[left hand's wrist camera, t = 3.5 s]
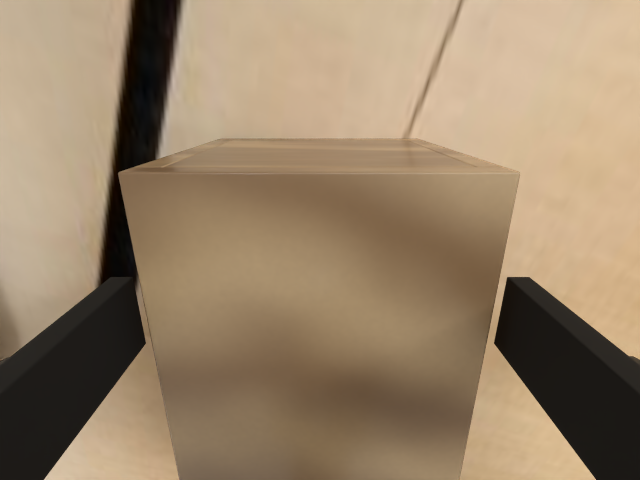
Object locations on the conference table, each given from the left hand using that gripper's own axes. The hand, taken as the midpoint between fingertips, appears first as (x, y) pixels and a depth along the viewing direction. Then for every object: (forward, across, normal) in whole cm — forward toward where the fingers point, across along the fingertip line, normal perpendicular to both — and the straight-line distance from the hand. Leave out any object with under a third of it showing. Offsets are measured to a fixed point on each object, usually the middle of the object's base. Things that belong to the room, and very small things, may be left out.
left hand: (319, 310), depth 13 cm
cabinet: (+10, 0, -3) cm, 10 cm away
